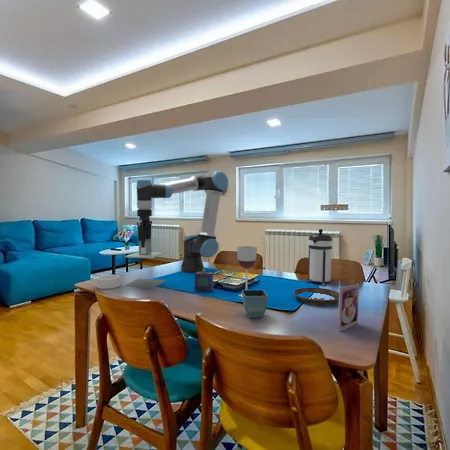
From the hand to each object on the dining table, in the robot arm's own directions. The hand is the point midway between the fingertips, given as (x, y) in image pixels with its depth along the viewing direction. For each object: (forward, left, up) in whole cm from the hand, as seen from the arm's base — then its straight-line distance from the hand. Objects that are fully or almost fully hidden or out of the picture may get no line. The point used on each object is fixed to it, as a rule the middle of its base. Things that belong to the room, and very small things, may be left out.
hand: (145, 252), depth 159 cm
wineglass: (-56, +10, -17) cm, 59 cm away
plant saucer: (-88, +8, -17) cm, 90 cm away
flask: (-34, +5, -17) cm, 38 cm away
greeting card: (-93, +37, -17) cm, 102 cm away
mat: (0, 0, -17) cm, 17 cm away
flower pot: (-62, +34, -17) cm, 73 cm away
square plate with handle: (0, 0, -1) cm, 1 cm away
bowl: (+16, +9, -17) cm, 25 cm away
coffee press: (-93, -26, -17) cm, 98 cm away
